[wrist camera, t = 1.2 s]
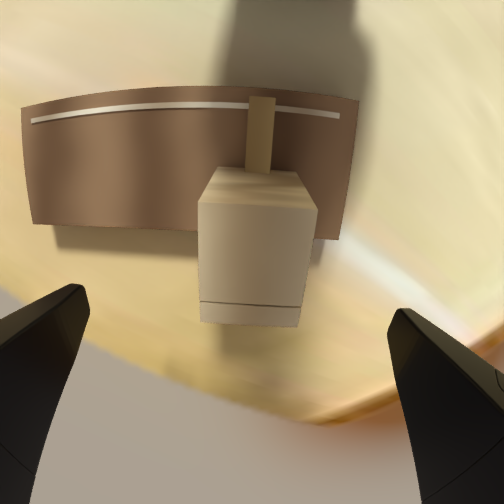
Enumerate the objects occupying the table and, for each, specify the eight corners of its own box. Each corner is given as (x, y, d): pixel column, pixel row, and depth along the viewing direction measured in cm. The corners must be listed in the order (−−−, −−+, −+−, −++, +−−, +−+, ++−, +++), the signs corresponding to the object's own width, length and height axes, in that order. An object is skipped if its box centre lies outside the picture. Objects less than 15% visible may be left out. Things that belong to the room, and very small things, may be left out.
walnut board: (345, 100, 16) (359, 100, 14) (329, 223, 20) (338, 240, 17) (43, 105, 16) (20, 108, 13) (51, 211, 19) (32, 224, 17)
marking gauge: (296, 101, 16) (331, 99, 8) (282, 242, 20) (297, 327, 12) (225, 96, 16) (201, 89, 8) (219, 239, 20) (200, 322, 12)
